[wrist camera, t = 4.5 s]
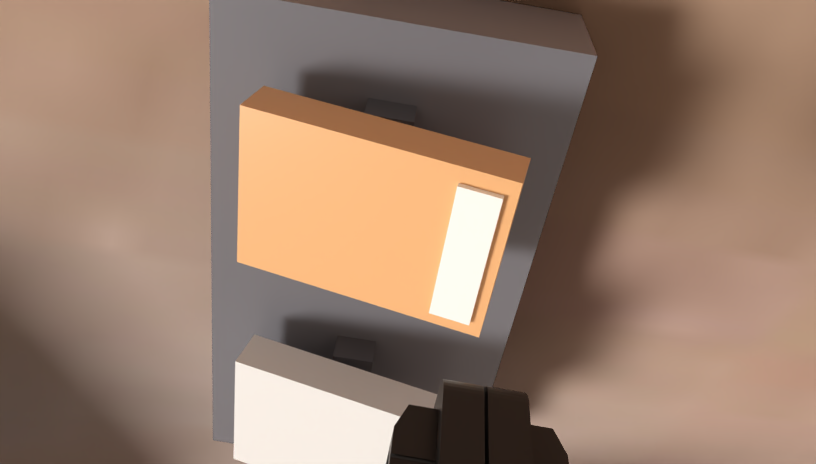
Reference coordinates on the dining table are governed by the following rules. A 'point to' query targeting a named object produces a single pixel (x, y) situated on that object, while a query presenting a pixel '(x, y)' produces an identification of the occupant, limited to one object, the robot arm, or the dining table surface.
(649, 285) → the dining table surface
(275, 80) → the large grey rectangular block
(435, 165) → the orange slab
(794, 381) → the dining table surface
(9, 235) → the dining table surface
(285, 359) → the white slab
